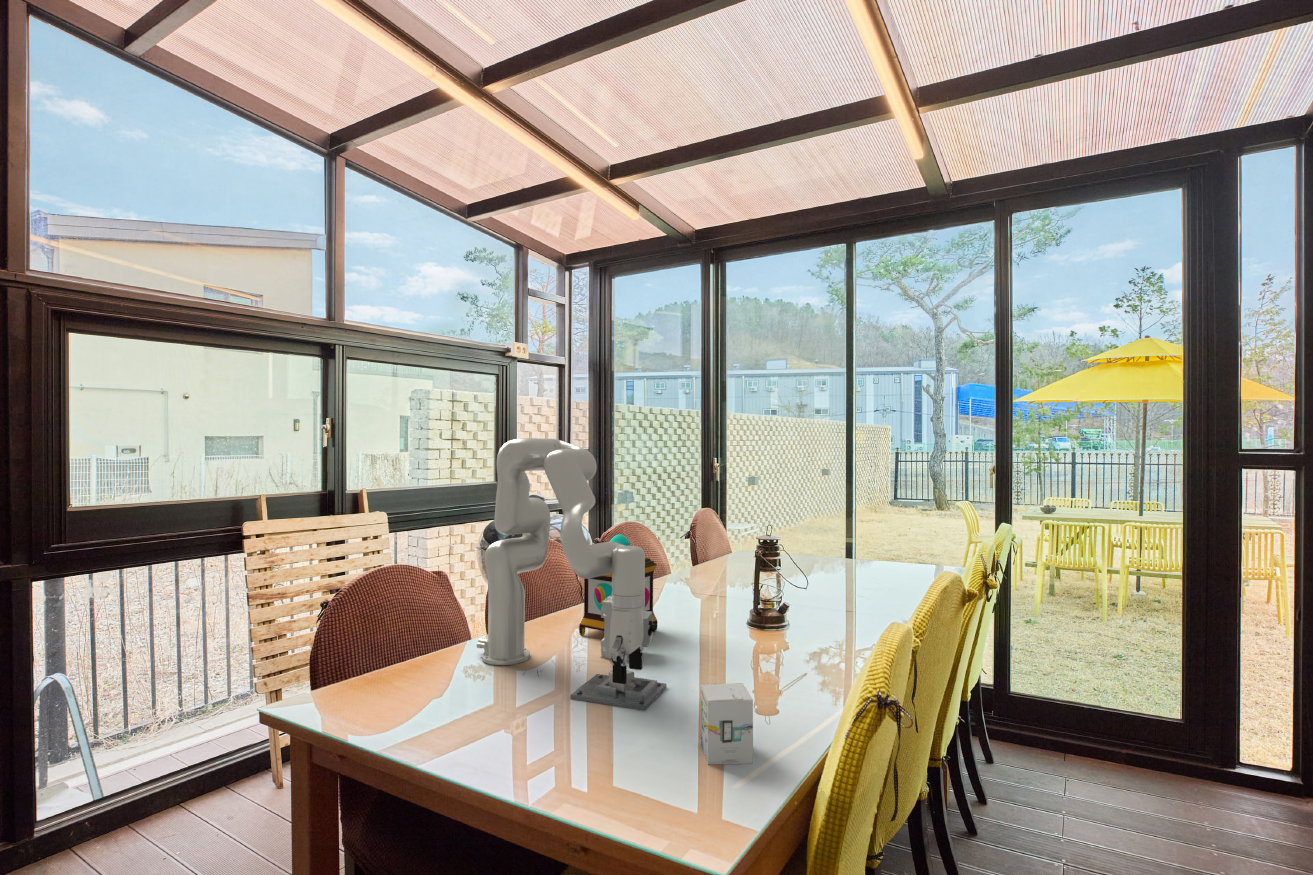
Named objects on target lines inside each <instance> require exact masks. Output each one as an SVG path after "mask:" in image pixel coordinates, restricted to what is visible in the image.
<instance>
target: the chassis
mask: <svg viewBox="0 0 1313 875" xmlns="http://www.w3.org/2000/svg"><path fill="white" fill-rule="evenodd" d="M634 680H638V681H640V682H641V685H640V682H639V684H636V683H634V684H635V687H634V688H633V689H627V690H626V692H621V691H618V687H612V686H609V674H608V675H607V674H606V675H605V674H601V673H599V674H597V673H596V674H595V675H593V676H592V677H591V678H590V679H588V681H586V682H585V683H583V684H582V685H581V686H580V687H578V688H577V689H576V690H574V691H573V692H572V693H570V699H571V700H576V701H582V702H587V703H588V702H589V703H596V704H600V705H602V704H603V705H608V706H613V707H621V708H628V709H634V710H635V709H636V710H641V711H646V710H647V709H648V708H650V707H651V705H652V704H653V703H654V702H655V701H656V700H657V698H659V697H660V695H661V694H662V693H663V692H664V691H665V690H666V689H667V683H665V682H658V679H656V680H655V679H650V678H643V677H636V676H634Z"/></svg>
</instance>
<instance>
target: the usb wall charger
mask: <svg viewBox="0 0 1313 875" xmlns="http://www.w3.org/2000/svg"><path fill="white" fill-rule="evenodd" d="M608 676H609V686H612V687H618V691H621V692H626V690H627V689H633V688H634V687H635V684H634V683H636V684H639V682H640V681H638V680H634V677H635V671H633V670H629V669H627V682H626V684H620V683H613V681H612V676H613V669H612V670H610V671H609V673H608ZM640 685H641V682H640Z"/></svg>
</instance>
